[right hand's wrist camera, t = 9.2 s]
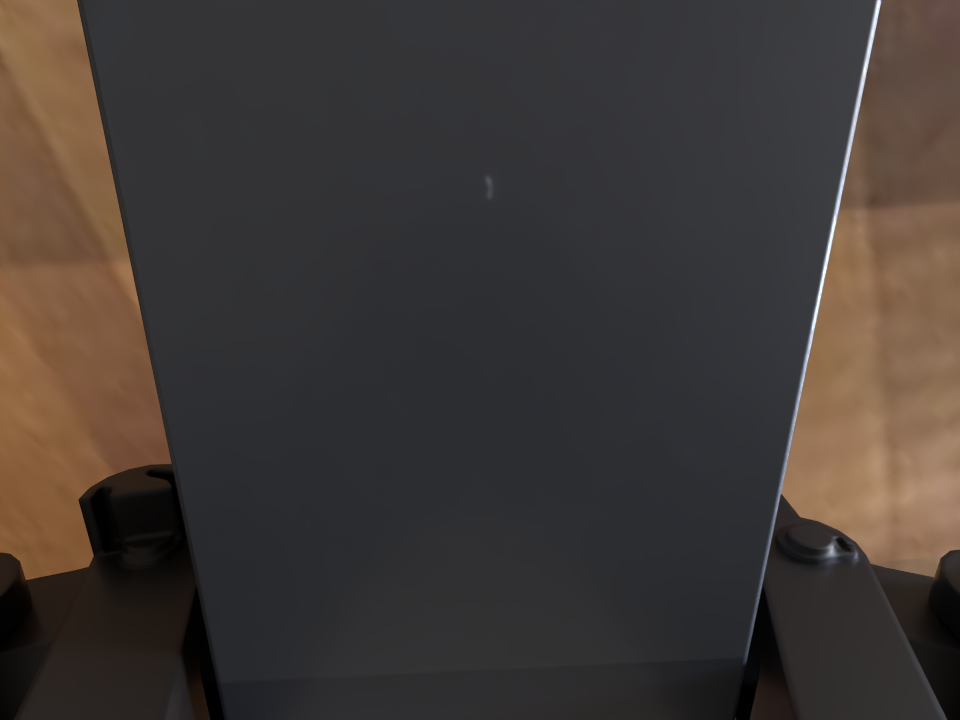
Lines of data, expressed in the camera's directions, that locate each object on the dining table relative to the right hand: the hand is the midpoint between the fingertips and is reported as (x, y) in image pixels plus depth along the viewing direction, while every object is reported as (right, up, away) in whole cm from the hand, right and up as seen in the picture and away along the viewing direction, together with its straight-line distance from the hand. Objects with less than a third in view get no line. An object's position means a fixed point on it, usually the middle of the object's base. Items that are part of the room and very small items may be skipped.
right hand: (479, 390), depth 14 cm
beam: (0, +8, -3) cm, 8 cm away
